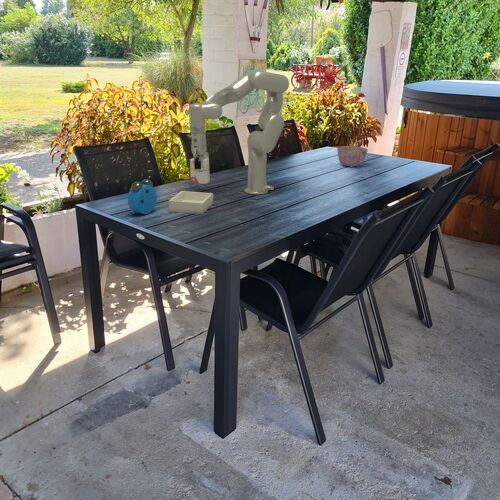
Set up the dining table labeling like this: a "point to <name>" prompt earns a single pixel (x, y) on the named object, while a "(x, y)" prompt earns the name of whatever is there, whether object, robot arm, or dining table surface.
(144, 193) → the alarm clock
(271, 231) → the dining table surface
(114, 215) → the dining table surface
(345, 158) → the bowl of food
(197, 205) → the cream square tray
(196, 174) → the ink cartridge box
